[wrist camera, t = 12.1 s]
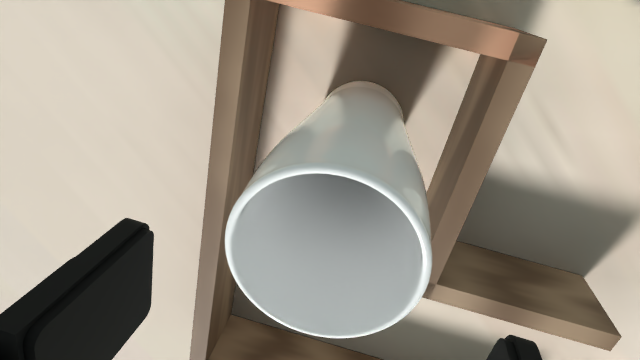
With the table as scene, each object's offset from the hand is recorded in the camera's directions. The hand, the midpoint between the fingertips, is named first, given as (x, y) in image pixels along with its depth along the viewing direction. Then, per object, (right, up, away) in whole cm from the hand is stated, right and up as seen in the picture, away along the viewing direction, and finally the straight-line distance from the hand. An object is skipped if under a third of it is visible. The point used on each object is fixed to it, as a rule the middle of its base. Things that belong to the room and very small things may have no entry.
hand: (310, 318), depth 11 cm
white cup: (+3, +8, +15) cm, 18 cm away
